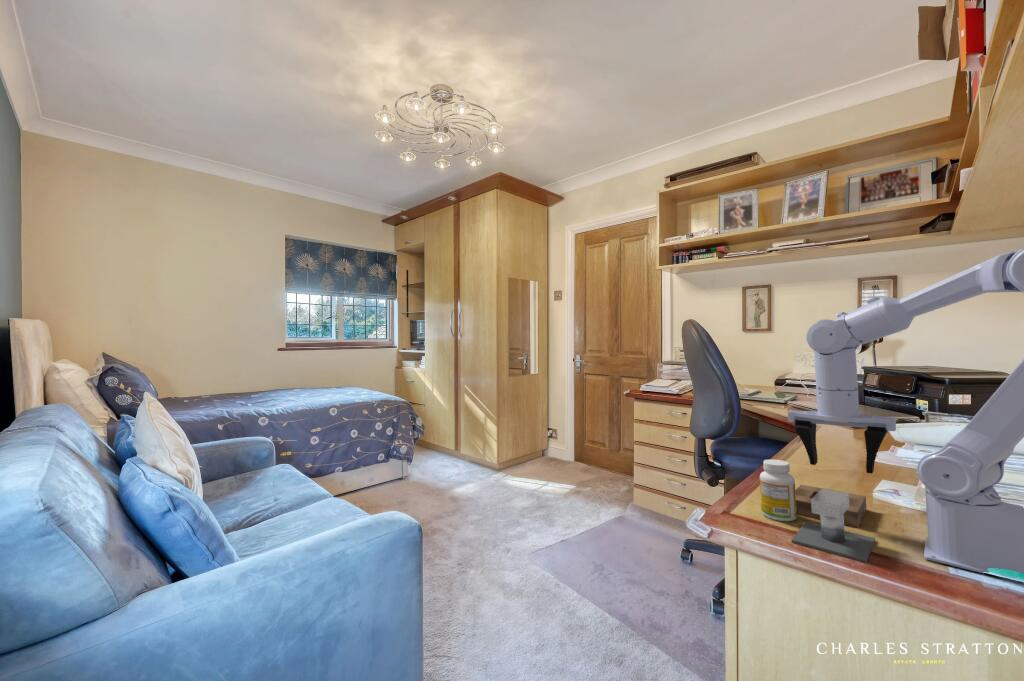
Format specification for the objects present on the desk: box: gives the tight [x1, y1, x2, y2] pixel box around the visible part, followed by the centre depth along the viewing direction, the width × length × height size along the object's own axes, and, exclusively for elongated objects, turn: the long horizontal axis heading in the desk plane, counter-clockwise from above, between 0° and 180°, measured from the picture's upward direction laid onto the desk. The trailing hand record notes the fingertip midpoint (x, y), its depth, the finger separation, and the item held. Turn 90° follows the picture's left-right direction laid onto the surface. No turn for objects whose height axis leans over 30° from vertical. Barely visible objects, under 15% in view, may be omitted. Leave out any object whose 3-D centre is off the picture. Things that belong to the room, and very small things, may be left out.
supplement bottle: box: [759, 458, 798, 522], centre depth 74 cm, size 5×5×10 cm
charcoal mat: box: [791, 521, 876, 563], centre depth 64 cm, size 9×9×1 cm
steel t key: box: [811, 488, 850, 543], centre depth 64 cm, size 7×4×6 cm, turn 132°
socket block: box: [795, 484, 867, 528], centre depth 76 cm, size 10×10×2 cm
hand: (840, 467), depth 71 cm, fingers open, 7 cm apart
